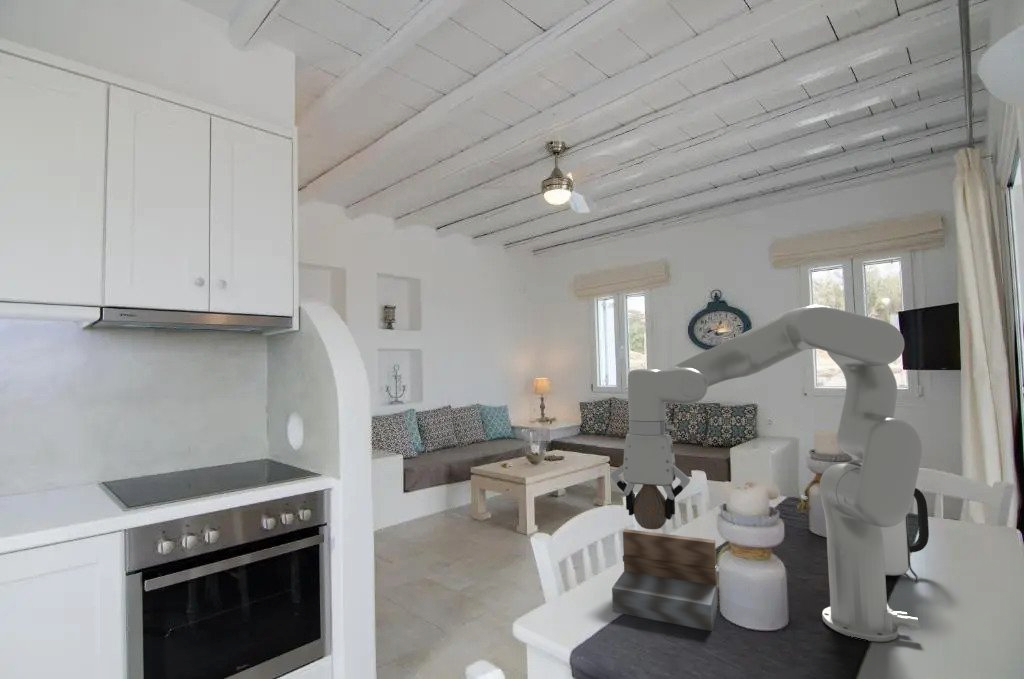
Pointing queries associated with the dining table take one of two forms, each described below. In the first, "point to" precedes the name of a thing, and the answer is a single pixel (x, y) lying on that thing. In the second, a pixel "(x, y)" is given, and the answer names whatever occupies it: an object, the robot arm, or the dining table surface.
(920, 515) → the coffee press
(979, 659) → the dining table surface
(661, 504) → the vase
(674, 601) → the wall shelf
